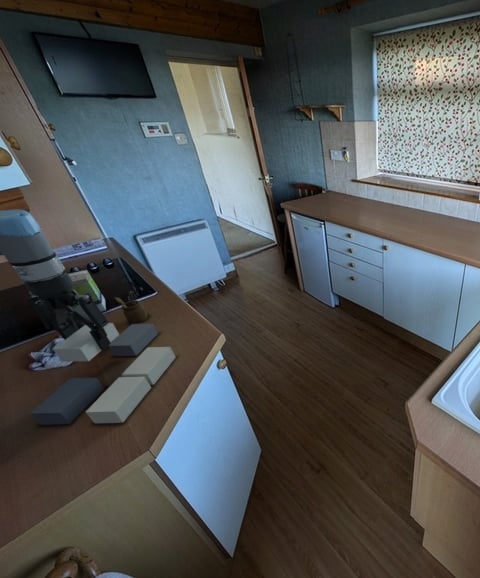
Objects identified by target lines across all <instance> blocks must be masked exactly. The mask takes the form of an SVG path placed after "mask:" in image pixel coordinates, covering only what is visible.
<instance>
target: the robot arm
mask: <svg viewBox="0 0 480 578" xmlns="http://www.w3.org/2000/svg"><path fill="white" fill-rule="evenodd" d="M0 256H4V258H5V259H6V260H7V261H8V263H9V265H10V266H11V267H12V268H13V269H14V271H15V273H16V274H17V275H18V277H19V278H20V279H21V280H22V281H24V282H23V285H25V287H26V288H27V290H28V291H30V292H31V294H32V295H34V296H30V297H28V298H27V299H26V301H27V302H28V303H29V304H30V305H31V306H32V307H33V308H34V311H35V312H36V314H37V315H38V317H39V319H40V322H42V324H43V326H44V328H45V329H46V330H51V329H52V330H54V331H55V332H58V334H59V335H60V337H61V338H62V339H63V340H66V339H67V338H68V337H70V336H71V335H72V334H74V333H75V330H74V329H73V327H72V326H67V325H68V324H69V323H68V322H66V316H65V311H64V309H65V310H66V311H68V312H69V313H73V314H74V315H75V316H76V317H77V318H79V319H80V320H81V321H82V322H83V323H84V324H85V325H87V326H88V327H89V328H90V329H91V331H90V334H91V335H92V337H93V338H94V340H95V341H96V343H97V344H98V346H99V348H100V349H101V351H104V350H105V349H106V348H108V346H109V345H110V344H111V342H110V341H109V339H108V337H107V333H106V332H105V330H104V328H103V327H104V326H106V325H107V324H108V323H110V322H109V321H108V319H107V318H106V316H105V315H104V313H103V311H102V312H101V311H100V310H99V308H98V307H97V306H96V304H95V303H94V302H93V299H92V296H91V295H90V294H88V293H87V294H85V295H80V294H78V293H77V292H76V291H75V290H74V289H73V281H72V279H71V278H70V276H69V274H70V273H68V271H66V267H65V266H64V264H63V262H62V261H61V259H60V258H59V256H58V255H57V253H56V252H55V250H54V249H53V247H52V246H51V244H50V242H49V240H48V239H47V236H46V235H45V234H44V231H43V229H42V227H41V226H40V225H39V223H38V222H37V221H36V220H35V218H34V216H33V215H32V214H31V213H30V212H29V211H27V210H23V209H6V210H0ZM76 304H77V305H76ZM75 305H76V306H75ZM73 306H75V307H73ZM71 307H73V308H71ZM66 326H67V327H66Z"/></svg>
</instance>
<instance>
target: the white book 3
mask: <svg viewBox="0 0 480 578" xmlns="http://www.w3.org/2000/svg"><path fill="white" fill-rule="evenodd" d="M175 359H176V355H175V353H174V351H173V349H172V347H171V346H151V347H150V346H149V347H148V346H147V347H146V348H145V349H144V350H143V351H142V352H141V354H140V355H138V357H137V358H136V359H135V360H134V361H133V362H132V363H131V364H130V365H129V366H128V367H127V368H126V369H125V370H124V371H123V372H122V373H121V377H145V378H146V380H147V381H148V383H149V385H150V386H154V385H155V384H156V383H157V382H158V380H159V379H160V378H161V376H162V375H163V374H164V372H165V371H166V370H167V369H168V368H169V367H170V365H171V364H172V363H173V361H174V360H175Z"/></svg>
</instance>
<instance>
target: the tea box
mask: <svg viewBox="0 0 480 578" xmlns="http://www.w3.org/2000/svg"><path fill="white" fill-rule="evenodd" d="M68 274H69V276H70V278H71V279H72V281H73V289H74V290H75V291H76V292H77V293H78V294H80V295H85V294H87V293H88V294H90V295H91V296H92V299H93V302H94V303H95V304H96V306H97V307H98V308H99V310H100V311H101V312H102V313H103V312H105V311H107V307H106V306H107V305H106V299H105V297H104V295H103V293H102V292H101V290H100V289H99V287H98V285H97V284H96V282H95V281H94V279H93V277H92V276H91V274H90V273H89V271H88V270H87V269H83V270H79V271H75V272H71V273H70V272H69V273H68ZM28 291H29V290H28ZM28 293H29V295H30V297H32V296H34V295H32V294H31V292H30V291H29V292H28ZM76 305H77V304H76ZM76 305H75V306H76ZM75 306H73V307H75ZM73 307H71V308H73ZM64 311H66V310H65V309H64Z"/></svg>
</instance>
